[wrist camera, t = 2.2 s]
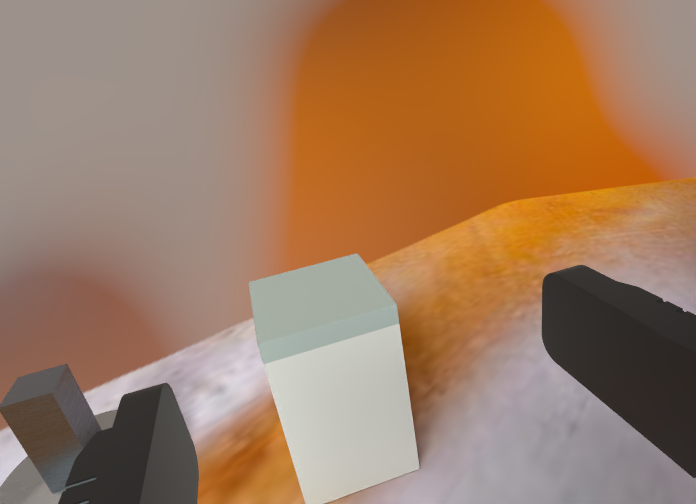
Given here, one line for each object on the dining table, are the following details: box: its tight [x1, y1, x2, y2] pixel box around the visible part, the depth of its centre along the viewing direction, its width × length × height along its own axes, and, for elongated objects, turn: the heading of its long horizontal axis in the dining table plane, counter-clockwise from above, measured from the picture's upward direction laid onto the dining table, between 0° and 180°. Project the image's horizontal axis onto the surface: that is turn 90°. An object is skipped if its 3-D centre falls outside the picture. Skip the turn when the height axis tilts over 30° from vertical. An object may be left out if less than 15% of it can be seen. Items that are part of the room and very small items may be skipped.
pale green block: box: [249, 253, 420, 504], centre depth 23 cm, size 6×6×10 cm
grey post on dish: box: [0, 364, 117, 504], centre depth 24 cm, size 9×9×8 cm
